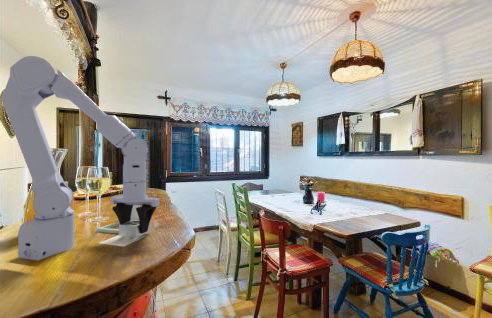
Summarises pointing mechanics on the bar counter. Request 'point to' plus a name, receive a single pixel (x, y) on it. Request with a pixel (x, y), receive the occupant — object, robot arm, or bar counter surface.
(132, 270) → the bar counter surface
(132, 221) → the grey square block
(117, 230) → the tray
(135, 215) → the eye dropper bottle
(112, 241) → the board
